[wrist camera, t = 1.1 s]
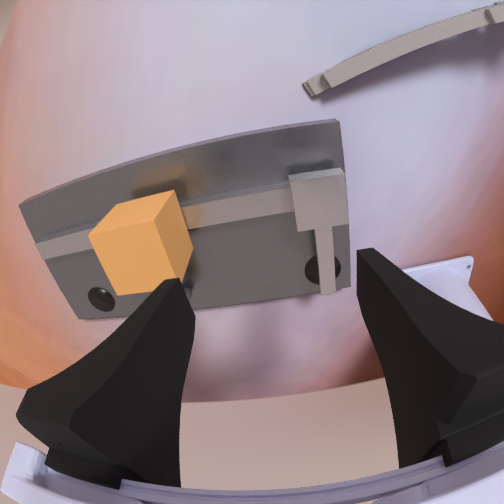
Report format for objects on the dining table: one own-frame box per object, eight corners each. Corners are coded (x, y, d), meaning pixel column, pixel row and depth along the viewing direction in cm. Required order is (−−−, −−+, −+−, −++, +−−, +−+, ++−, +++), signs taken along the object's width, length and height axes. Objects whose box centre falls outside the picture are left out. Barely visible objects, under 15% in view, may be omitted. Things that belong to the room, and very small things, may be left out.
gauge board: (347, 277, 23) (357, 306, 20) (83, 311, 26) (69, 335, 23) (334, 118, 17) (349, 127, 14) (26, 199, 20) (2, 217, 17)
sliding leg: (213, 293, 22) (204, 344, 18) (164, 299, 23) (147, 347, 19) (178, 184, 18) (153, 220, 14) (122, 198, 18) (87, 235, 14)
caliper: (506, -2, 10) (559, -4, 4) (512, 10, 10) (565, 10, 5) (301, 83, 16) (322, 84, 11) (311, 97, 17) (335, 106, 11)
